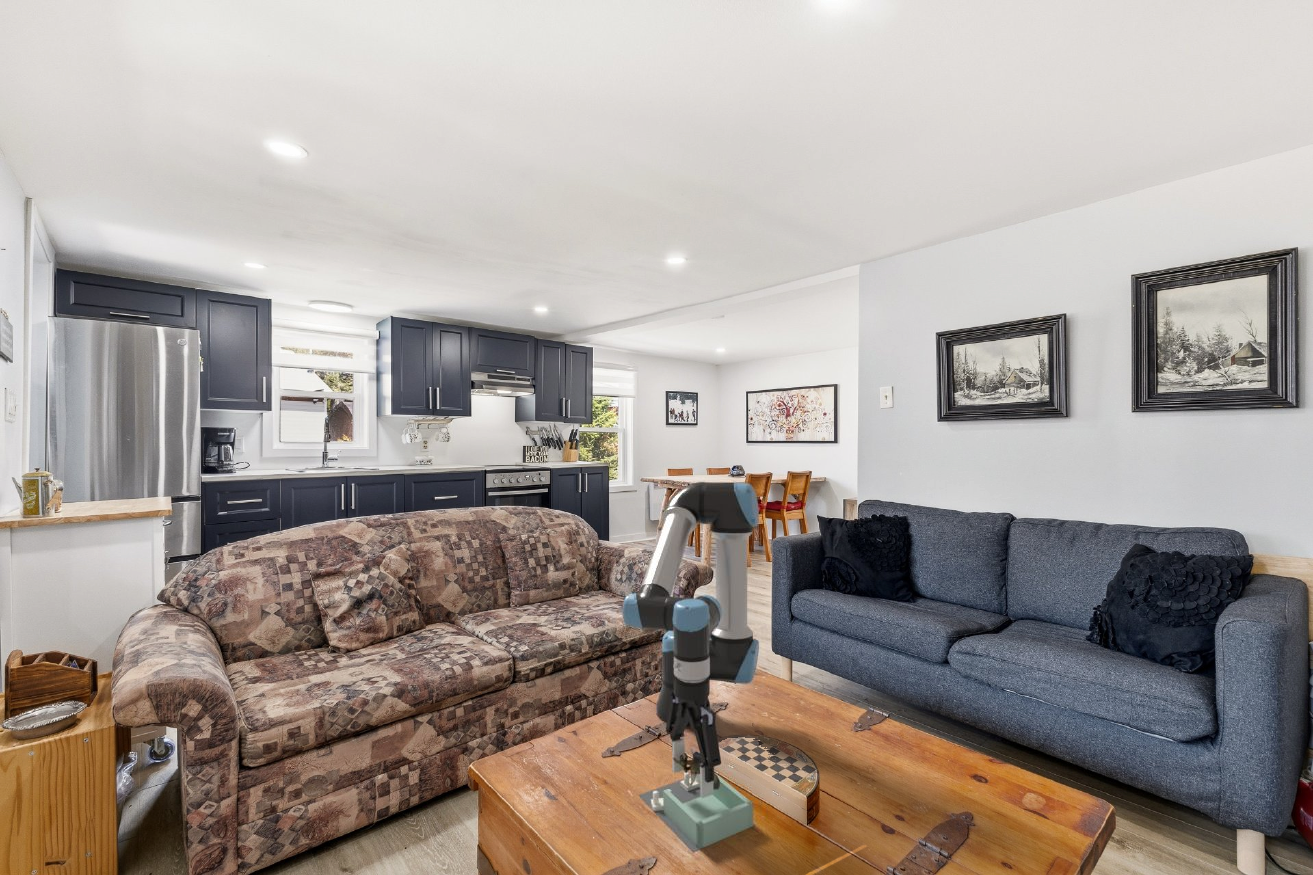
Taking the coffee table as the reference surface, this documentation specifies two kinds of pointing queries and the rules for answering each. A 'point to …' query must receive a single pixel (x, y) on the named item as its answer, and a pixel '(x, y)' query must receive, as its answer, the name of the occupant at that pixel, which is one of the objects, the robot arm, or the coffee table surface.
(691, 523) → the robot arm
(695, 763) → the eagle figurine
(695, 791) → the mat
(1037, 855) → the coffee table surface
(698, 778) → the clips
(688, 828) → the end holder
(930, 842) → the coffee table surface
